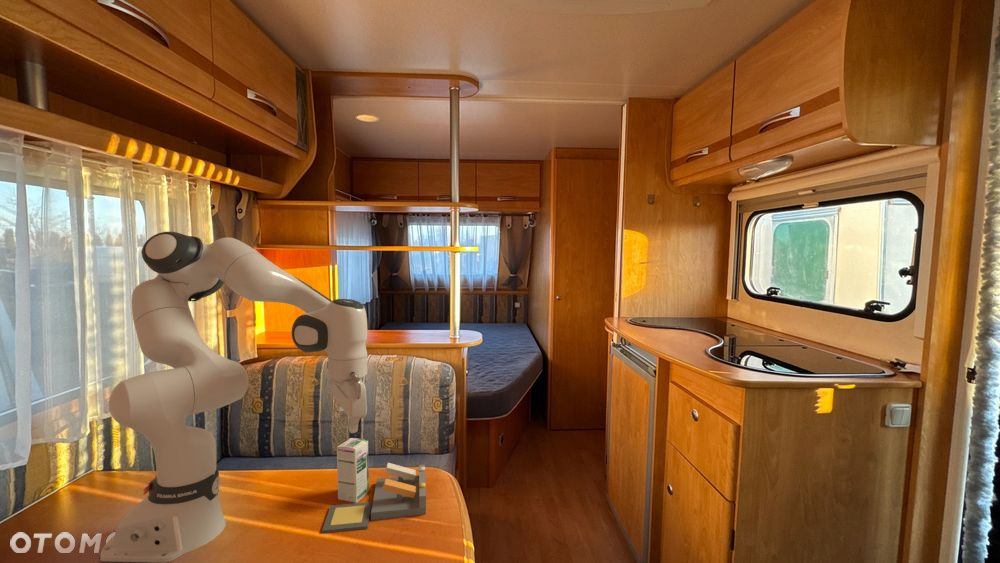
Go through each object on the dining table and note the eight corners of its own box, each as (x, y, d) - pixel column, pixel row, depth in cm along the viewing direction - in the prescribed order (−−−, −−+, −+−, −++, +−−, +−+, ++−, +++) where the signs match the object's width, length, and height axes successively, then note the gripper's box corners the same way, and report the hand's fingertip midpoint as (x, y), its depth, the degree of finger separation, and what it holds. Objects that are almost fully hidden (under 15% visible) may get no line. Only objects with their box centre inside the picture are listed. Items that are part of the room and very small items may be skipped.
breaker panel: (371, 520, 104) (370, 498, 104) (377, 485, 120) (377, 466, 120) (425, 515, 107) (426, 493, 107) (424, 481, 123) (424, 462, 122)
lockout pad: (322, 533, 100) (322, 529, 100) (330, 507, 109) (330, 505, 109) (367, 528, 101) (367, 525, 101) (371, 504, 111) (371, 501, 111)
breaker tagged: (382, 490, 108) (384, 484, 108) (383, 484, 110) (385, 478, 110) (413, 498, 109) (415, 492, 109) (413, 492, 112) (415, 486, 112)
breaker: (385, 473, 116) (387, 467, 116) (385, 468, 119) (387, 462, 119) (413, 480, 118) (415, 475, 118) (413, 475, 120) (415, 470, 120)
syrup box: (356, 504, 111) (356, 448, 110) (336, 500, 113) (336, 445, 112) (369, 492, 117) (369, 439, 116) (350, 488, 118) (350, 436, 117)
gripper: (374, 377, 96) (374, 438, 97) (351, 357, 113) (351, 409, 114) (344, 381, 93) (344, 444, 94) (325, 360, 110) (325, 413, 111)
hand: (348, 424), depth 104 cm, fingers open, 8 cm apart
